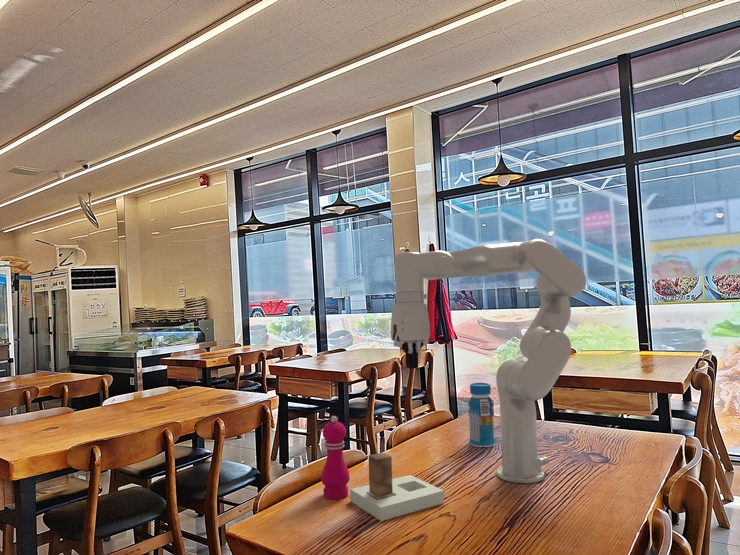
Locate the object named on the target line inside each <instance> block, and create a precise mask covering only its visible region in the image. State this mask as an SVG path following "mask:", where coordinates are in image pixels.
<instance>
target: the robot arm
mask: <svg viewBox="0 0 740 555" xmlns="http://www.w3.org/2000/svg"><path fill="white" fill-rule="evenodd" d="M529 272H538V274H537V277H536V288H537V292H538V293H539V298H540V306H539V310H538V312H537V313H536V314H535V317H534V319H533V320H532V322H531V324H529V327H528V328H527V329H526V331H525V332H524V334H523V335H522V338H521V340H520V342H519V350H520V353H521V355H522V356H523V357H525V358H526V359H527V360H526V361H525V360H522V359H521V360H520V359H509V360H506V361H504V362H503V363H501V364H500V366H499V367H498V368H497V370H496V371H497V372H496V376H495V381H496V388H497V394H498V400H499V412H500V413H499V414H500V440H501V466H499V467H498V468H497V469H496V476H497V477H498V478H499V479H501V480H504V481H506V482H510V483H517V484H533V483H538V482H542V481H543V480H544V479H545V472H544V471H543V469H541V467H543V466H544V465H548V464H550V459H549V457H547V456H544V457H539V456H538V455H539V454H538V453H539V452H538V434H537V431H538V430H537V427H538V426H537V410H536V403H535V401H539V400H542V399H543V398H544V397H546V396H547V395H548V394H549V392H550V391H551V389H553V387H554V385H555V384H556V382H557V380H558V379H559V376H560V375H561V374H562V372H563V370H564V368H565V367H566V365H567V363H568V362H569V359H570V358H571V355H572V354H571V353H572V352H571V351H572V343H571V340H570V339H569V336H568V335H567V334H566V333H565V330H566V328H567V326H568V325H569V322H570V319H571V314H572V312H571V311H572V308H571V303H570V299H569V298H570V297H575V296H578V295H580V294H582V292H583V291H584V290H585V288H586V284H587V277H586V274H585V272H584V271H583V270H582V268H581V267H580V266H579V265H578V264H577V263H576V262H574V261H573V260H571V259H570V258H569V257H568V256H566V255H565V254H564V253H563V252H562V251H560V250H559V249H558V248H557V247H555V246H554V245H553V244H551V243H550V242H548V241H546V240H544V239H540V238H535V239H531V240H526V241H518V242H509V243H507V242H506V243H497V244H484V245H478V246H472V247H470V248H465V249H461V250H460V249H459V250H453V251H445V250H433V251H425V252H418V251H407V252H406V251H404V252H399V253H397V254H396V255H395V257H394V275H395V303H394V304H393V305H392V310H391V318H390V320H391V321H390V339H391V341H393V347H395V348H400V349H401V350H402V352H403V353H404V354H405V366H406V367H405V368H407V369H411V370H412V369H418V368H419V353H420V352H421V349H422V348H423V346H426V345H428V344H430V342H429V341H430V340H429V339H430V336H431V328H430V327H431V324H430V317H429V316H430V315H429V311H428V306H427V303H425V300H427V298H428V294H426V293H425V280H427V281H428V280H429V281H433V280H443V279H451V278H465V277H470V278H471V277H472V278H473V277H475V278H478V277H479V278H480V277H490V276H498V275H499V276H501V275H509V274H519V273H521V274H523V273H529Z"/></svg>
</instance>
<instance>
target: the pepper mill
mask: <svg viewBox="0 0 740 555" xmlns="http://www.w3.org/2000/svg"><path fill="white" fill-rule="evenodd" d="M346 435H347V429H346V426H345V425H344V424H343V423H342V422H339V421H338V417H337V416H336V415H332V416H331V417H330V422H328V423H326V424H325V425H324V427H323V429H322V437H323V439H324V440H325V441H324V448H325V449H326V459H325V460H326V461H325V463H324V467H323V469H322V471H321V478H320V480H321V482H322V485H323V486H324V487H323V497H324V498H325V499H328V500H341V499H345V498H346V497H348V495H349V487H348V486H347V484H349V482H350V472H349V469H348V466H347V464H346V462H345V459H344V448H345V441H344V438H346Z"/></svg>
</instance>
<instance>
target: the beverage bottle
mask: <svg viewBox="0 0 740 555" xmlns="http://www.w3.org/2000/svg"><path fill="white" fill-rule="evenodd" d="M469 389H470V390H469V393H470V395H471V397H470V399H469V401H468V407H469V409H468V412H467V414H468V420H469V422H468V423H469V424H468V425H469V444H470V445H471V446H472V447H476V448H482V447H485V448H491V447H493V446H495V444H496V441H495V424H494V423H495V422H494V420H495V418H494V416H495V411H494V408H493V407H494V402H493V400H492V398H491V396H490V395H491V392H492V391H491V390H492V387H491V384H490V383H487V382H472V383H470V384H469Z"/></svg>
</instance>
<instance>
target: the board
mask: <svg viewBox="0 0 740 555" xmlns="http://www.w3.org/2000/svg"><path fill="white" fill-rule="evenodd" d="M349 490H350V502H351V503H352V504H354V505H355V504H356V505H355V506H357V507H358V506H359V508H360V509H362V510H363V511H365V512H366V513H368V514H369V513H370V515H371V516H372V515H373V516H372V517H375V519H377V520H379V521H380V522H383V521H387V520H390V519H393V518H397V517H400V516H403V515H407V514H411V513H414V512H415V513H416V512H418V511H422V510H425V509H428V508H432V507H435V506H439V505H442V504H445V490H444V489H442V488H439V487H438V486H437V487H436V486H434V485H432V484H431V483H428V482H427V481H425V480H422V479H420V478H418V477H417V476H416V477H415V476H413V475H411V474H409V475H404V476H403V475H402V476H400V477H395V478H392V492H393V496H391V497H387V498H383V499H379V500H376V499H375V498H373V497H371V496H370V494H369V492H370V491H369V484H368V485H363V486H362V485H361V486H358V487H354V488H350V489H349Z"/></svg>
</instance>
